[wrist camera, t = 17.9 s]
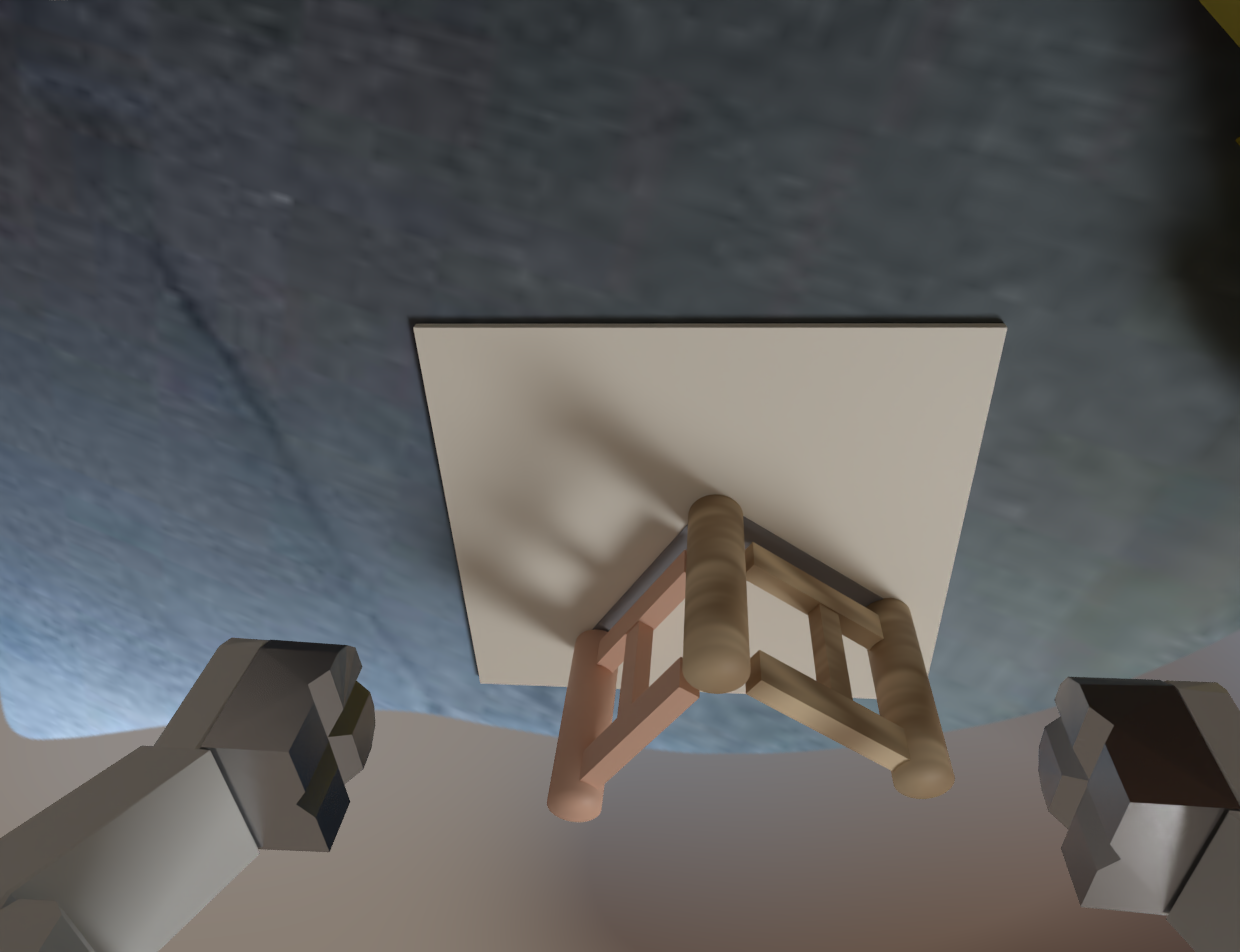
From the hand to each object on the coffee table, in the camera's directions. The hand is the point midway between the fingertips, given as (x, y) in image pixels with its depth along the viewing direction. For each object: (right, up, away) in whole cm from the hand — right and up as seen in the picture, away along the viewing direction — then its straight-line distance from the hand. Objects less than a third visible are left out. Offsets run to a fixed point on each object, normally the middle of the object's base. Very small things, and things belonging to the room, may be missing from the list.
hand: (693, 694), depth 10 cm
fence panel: (0, -6, +45) cm, 45 cm away
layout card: (+4, -1, +42) cm, 42 cm away
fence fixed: (+10, -3, +42) cm, 44 cm away
